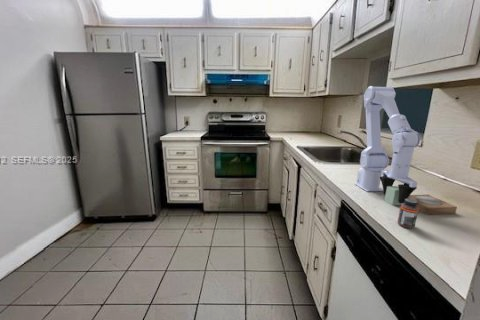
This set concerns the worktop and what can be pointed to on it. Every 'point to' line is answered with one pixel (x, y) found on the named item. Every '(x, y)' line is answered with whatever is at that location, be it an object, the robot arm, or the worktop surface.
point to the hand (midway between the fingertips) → (393, 198)
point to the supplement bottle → (408, 213)
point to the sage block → (392, 195)
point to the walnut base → (432, 205)
